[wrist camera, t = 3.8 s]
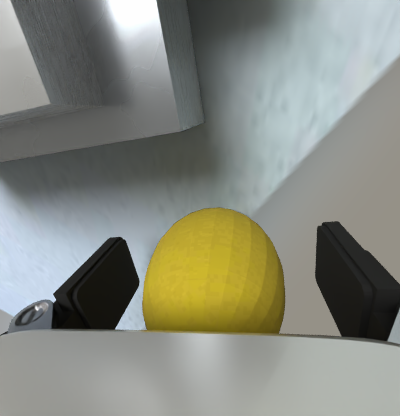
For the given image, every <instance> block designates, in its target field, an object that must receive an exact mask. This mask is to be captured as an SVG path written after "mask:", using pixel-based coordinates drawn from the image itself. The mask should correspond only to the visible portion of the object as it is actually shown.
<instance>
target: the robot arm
mask: <svg viewBox="0 0 400 416" xmlns="http://www.w3.org/2000/svg"><path fill="white" fill-rule="evenodd" d="M315 277H316V281H317V284H318V286H319V288H320V291H321V293H322V295H323V297H324V299H325V301H326V304H327V306H328V308H329V310H330V312H331V314H332V316H333V318H334V320H335V323H336V325H337V327H338V329H339V331H340V334H341V336H342V337H339V336H324V335H299V334H273V333H239V332H203V331H161V330H115V328H116V326H117V324H118V323H119V321H120V319H121V317H122V315H123V314H124V312H125V310H126V308H127V306H128V305H129V303H130V301H131V299H132V297H133V296H134V294H135V292H136V290H137V288H138V287H139V278H138V275H137V272H136V269H135V266H134V263H133V260H132V257H131V254H130V251H129V249H128V246H127V243H126V241H125V240H124V239H123V238H121V237H113V238H109V239H108V240H107V241H106V242H105V243H104V244H103V245H102V246H101V247H100V248H99V249H98V250H97V251H96V252H95V253H94V254H93V255H92V256H91V257H90V258H89V259H88V260H87V261H86V262H85V263H84V264H83V265H82V266H81V267H80V268H79V269H78V270H77V271H76V272H75V273H74V274H73V275H72V276H71V277H70V278H69V279H68V280H67V281H66V282H65V283H64V284H63V285H62V286H61V287H60V288H59V289H58V290H57V291H56V292H55V293H54V294H53V295H54V297H55V298H56V301H55V302H54V303H53V302H52V301H50V300H41V301H38V302H35V303H33V304H31V305H29V306H27V307H26V308H24V309H23V310H21V311H20V312H19V313H18V314H17V315H16V316H15V317H14V318H13V319H12V321H11V323H10V325H9V329H8V331H7V332H5V333H3V334H1V335H0V416H400V284H399V283H398V282H397V281H396V280H395V279H394V278H393V277H392V276H391V275H390V274H389V273H388V271H387V270H386V269H385V268H384V267H383V266H382V265H381V264H380V263H379V262H378V261H377V260H376V259H375V258H374V256H372V255H371V253H370V252H368V251H366V250H364V249H363V248H362V247H361V246H360V245H359V244H358V243H357V242H356V240H355V239H354V238H353V237H352V236H351V235H350V234H349V233H348V232H347V231H346V229H345V228H344V227H343V226H342V225H341V224H340V223H339V222H337V221H335V222H323V223H322V226H318V228H317V246H316V270H315Z"/></svg>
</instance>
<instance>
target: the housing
mask: <svg viewBox="0 0 400 416" xmlns="http://www.w3.org/2000/svg"><path fill="white" fill-rule="evenodd" d="M202 123H205V121H204V114H203V107H202V100H201V94H200V87H199V80H198V73H197V67H196V60H195V53H194V46H193V40H192V33H191V26H190V19H189V13H188V6H187V0H0V162H5V161H11V160H17V159H22V158H28V157H34V156H40V155H46V154H52V153H58V152H63V151H69V150H75V149H81V148H87V147H93V146H99V145H104V144H110V143H116V142H122V141H128V140H134V139H140V138H146V137H151V136H157V135H163V134H169V133H175V132H181V131H183V130H186V129H189V128H191V127H194V126H197V125H199V124H202Z"/></svg>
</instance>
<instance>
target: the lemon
mask: <svg viewBox="0 0 400 416" xmlns="http://www.w3.org/2000/svg"><path fill="white" fill-rule="evenodd" d="M142 308H143V316H144V321H145V325H146V329H147V330H161V331H203V332H239V333H273V334H279V331H280V327H281V324H282V321H283V316H284V310H285V309H284V308H285V288H284V275H283V269H282V265H281V262H280V259H279V257H278V255H277V252H276V250H275V247H274V246H273V243H272V241H271V240H270V238H269V237H268V236H267V234H266V233H265V232H264V231H263V230H262V228H261V227H260V226H259V225H258V224H257V223H255V222H254V221H253V220H251V219H250V218H249V217H247V216H246V215H244V214H241V213H239V212H236V211H234V210H231V209H225V208H205V209H202V210H199V211H196V212H192V213H190V214H188V215H187V216H185V217H184V218H182V219H180V220H179V221H177V222H176V223H175V224H174V225H173V226H172V227H171V228H170V229H169V230H168V231H167V233H166V234H165V235H164V236H163V237H162V238H161V240H160V241H159V243H158V245H157V247H156V249H155V251H154V253H153V256H152V258H151V260H150V263H149V265H148V268H147V272H146V276H145V281H144V290H143V302H142Z"/></svg>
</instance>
